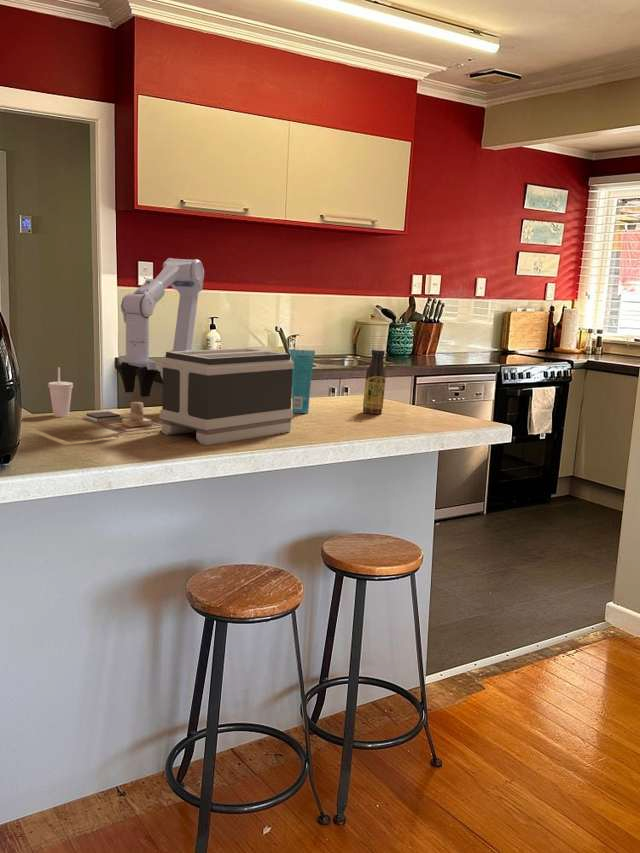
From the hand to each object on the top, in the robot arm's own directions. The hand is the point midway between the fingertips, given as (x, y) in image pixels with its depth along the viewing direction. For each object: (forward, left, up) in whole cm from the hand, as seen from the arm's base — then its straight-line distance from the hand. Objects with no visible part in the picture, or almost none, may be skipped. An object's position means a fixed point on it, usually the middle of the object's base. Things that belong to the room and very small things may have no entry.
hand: (137, 394), depth 202 cm
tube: (-55, +3, -9) cm, 56 cm away
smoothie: (+10, -22, -9) cm, 26 cm away
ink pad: (+3, -12, -8) cm, 15 cm away
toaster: (-19, +16, -9) cm, 27 cm away
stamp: (0, 0, -8) cm, 8 cm away
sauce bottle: (-75, +15, -9) cm, 77 cm away
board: (-1, -5, -9) cm, 11 cm away
